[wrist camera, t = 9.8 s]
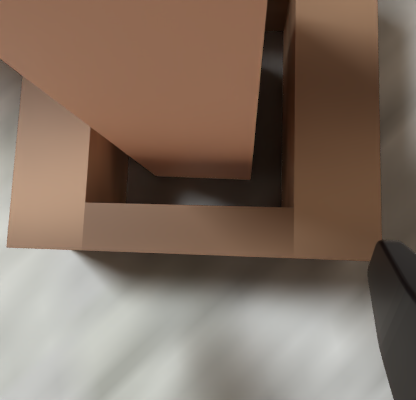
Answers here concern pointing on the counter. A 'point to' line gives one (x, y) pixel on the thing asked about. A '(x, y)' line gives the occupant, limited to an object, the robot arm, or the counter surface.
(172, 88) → the peach rectangular block
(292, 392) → the counter surface
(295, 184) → the slotted block
